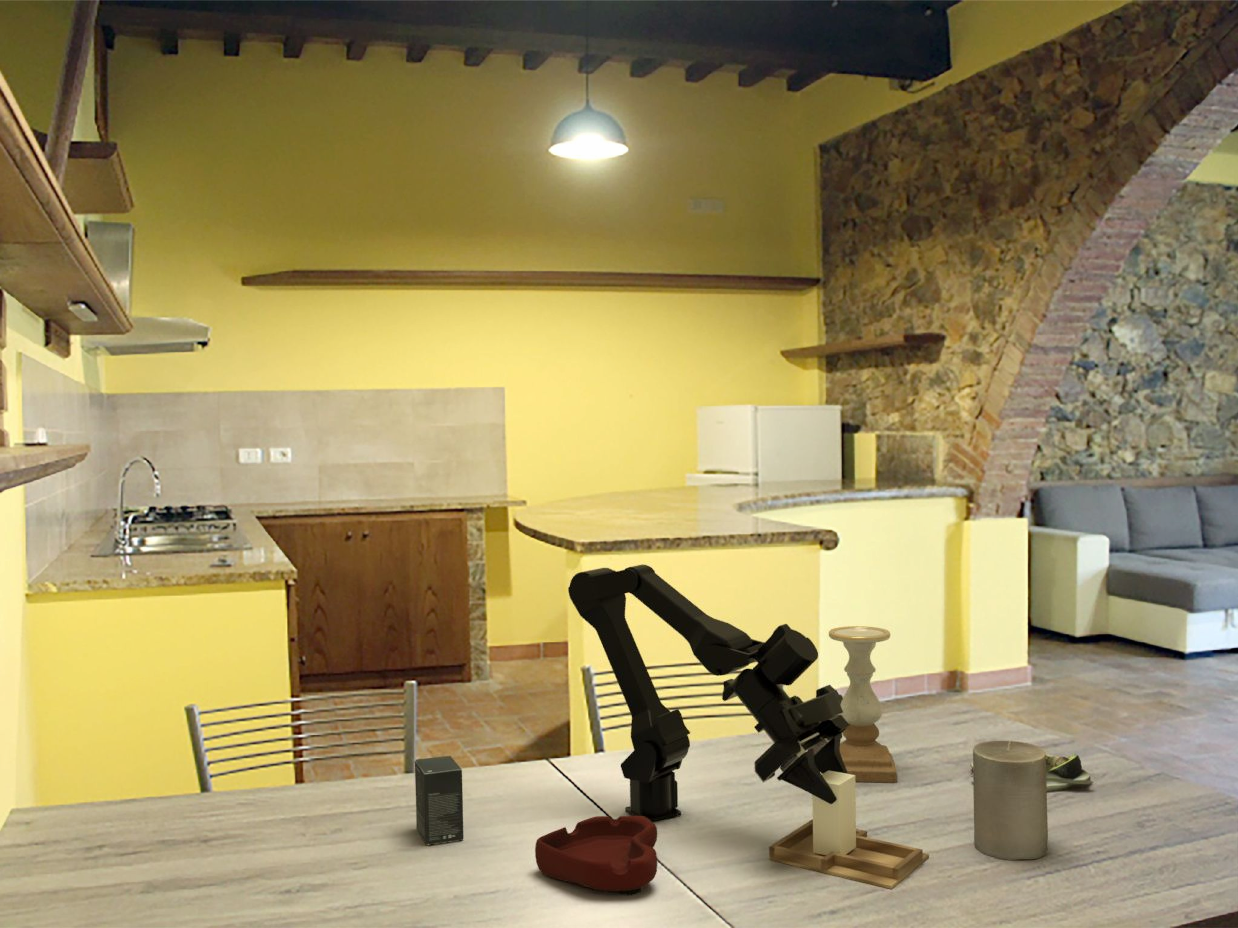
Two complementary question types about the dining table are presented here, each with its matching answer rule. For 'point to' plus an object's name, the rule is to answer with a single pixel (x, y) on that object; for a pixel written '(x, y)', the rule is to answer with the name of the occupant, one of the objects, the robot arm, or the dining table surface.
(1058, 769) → the salad plate
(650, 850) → the ashtray
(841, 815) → the panel block
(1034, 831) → the pillar candle
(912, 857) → the keyhole frame
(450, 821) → the box
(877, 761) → the candle holder
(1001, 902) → the dining table surface
